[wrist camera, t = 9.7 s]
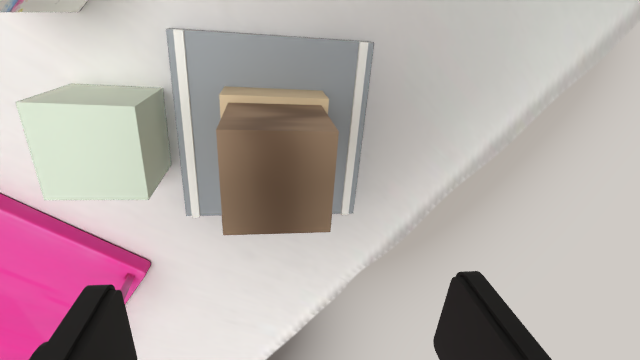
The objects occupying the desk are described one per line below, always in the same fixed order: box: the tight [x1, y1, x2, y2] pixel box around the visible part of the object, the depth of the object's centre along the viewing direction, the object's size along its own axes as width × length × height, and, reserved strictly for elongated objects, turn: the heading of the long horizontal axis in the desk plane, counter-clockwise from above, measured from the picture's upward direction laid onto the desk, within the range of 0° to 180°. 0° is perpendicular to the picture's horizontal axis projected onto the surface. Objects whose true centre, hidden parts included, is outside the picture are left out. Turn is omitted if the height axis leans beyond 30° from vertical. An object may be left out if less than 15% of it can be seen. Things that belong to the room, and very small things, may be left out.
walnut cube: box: [216, 103, 339, 235], centre depth 21 cm, size 6×6×6 cm
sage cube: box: [16, 84, 171, 200], centre depth 23 cm, size 6×6×6 cm
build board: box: [166, 28, 374, 218], centre depth 25 cm, size 14×14×4 cm
